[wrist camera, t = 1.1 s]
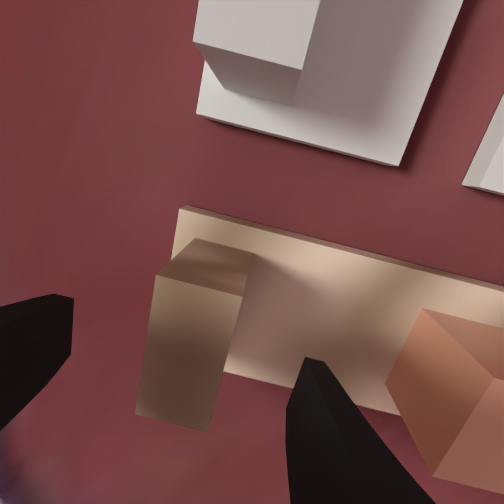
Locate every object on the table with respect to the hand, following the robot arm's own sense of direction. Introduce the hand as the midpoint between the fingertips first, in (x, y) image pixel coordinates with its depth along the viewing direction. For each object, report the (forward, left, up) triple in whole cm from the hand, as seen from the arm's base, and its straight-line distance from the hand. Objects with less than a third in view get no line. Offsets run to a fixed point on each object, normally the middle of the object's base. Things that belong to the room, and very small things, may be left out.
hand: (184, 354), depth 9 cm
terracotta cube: (-11, 0, -4) cm, 11 cm away
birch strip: (-7, 0, -5) cm, 9 cm away
